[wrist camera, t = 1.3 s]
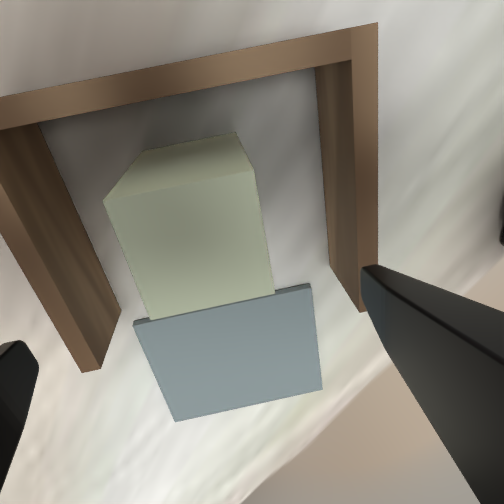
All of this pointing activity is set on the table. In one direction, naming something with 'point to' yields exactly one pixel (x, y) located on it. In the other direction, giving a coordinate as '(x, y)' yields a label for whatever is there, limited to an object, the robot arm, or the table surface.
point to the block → (192, 226)
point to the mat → (234, 353)
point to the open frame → (166, 84)
